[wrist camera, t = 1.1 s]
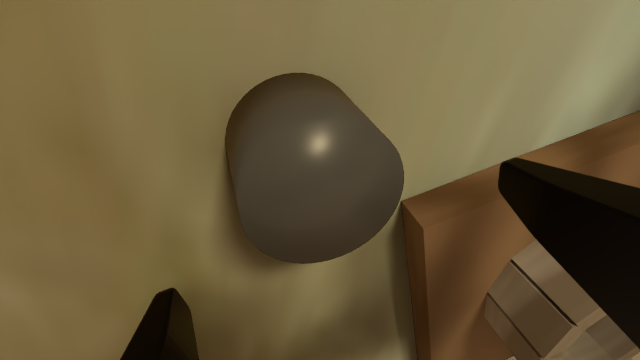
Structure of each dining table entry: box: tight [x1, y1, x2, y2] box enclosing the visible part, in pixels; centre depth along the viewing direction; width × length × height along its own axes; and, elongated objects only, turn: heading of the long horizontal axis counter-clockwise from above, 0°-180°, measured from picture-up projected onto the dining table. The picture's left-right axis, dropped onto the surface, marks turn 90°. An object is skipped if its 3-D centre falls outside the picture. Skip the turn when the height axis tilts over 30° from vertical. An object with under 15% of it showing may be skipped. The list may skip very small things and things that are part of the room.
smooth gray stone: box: [225, 73, 404, 264], centre depth 13 cm, size 5×5×4 cm
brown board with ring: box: [402, 111, 640, 360], centre depth 21 cm, size 16×16×6 cm
